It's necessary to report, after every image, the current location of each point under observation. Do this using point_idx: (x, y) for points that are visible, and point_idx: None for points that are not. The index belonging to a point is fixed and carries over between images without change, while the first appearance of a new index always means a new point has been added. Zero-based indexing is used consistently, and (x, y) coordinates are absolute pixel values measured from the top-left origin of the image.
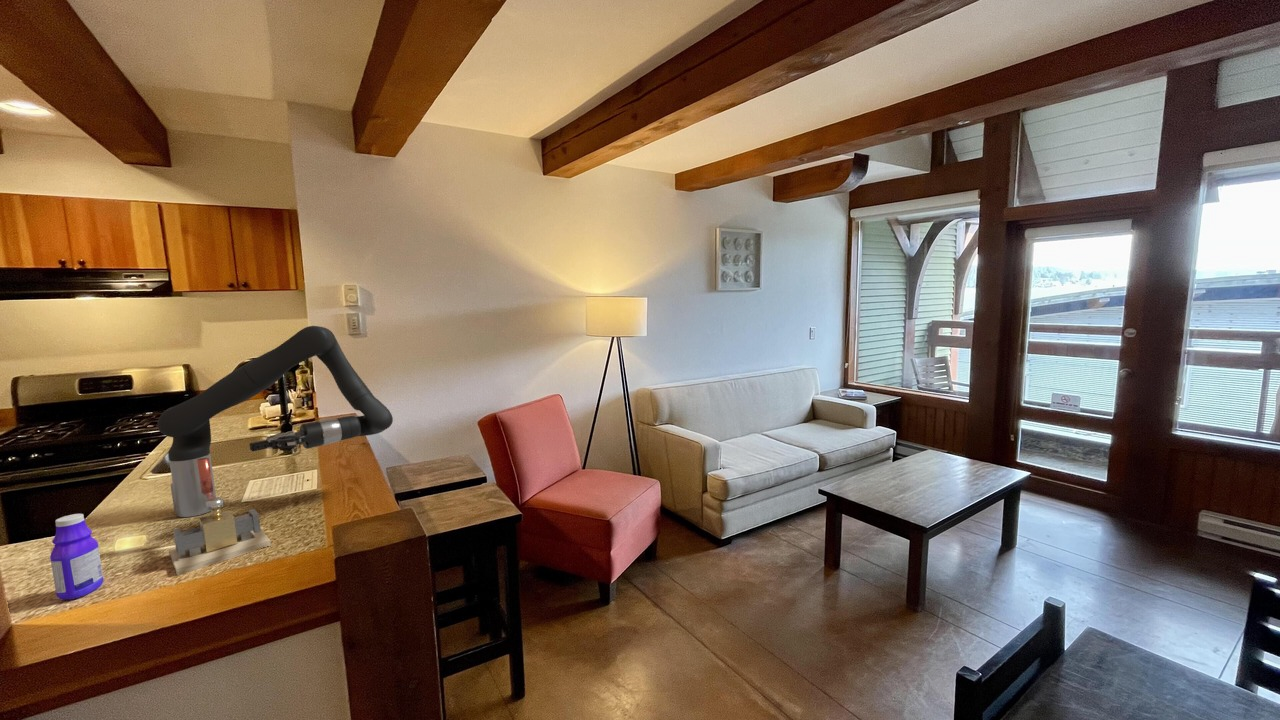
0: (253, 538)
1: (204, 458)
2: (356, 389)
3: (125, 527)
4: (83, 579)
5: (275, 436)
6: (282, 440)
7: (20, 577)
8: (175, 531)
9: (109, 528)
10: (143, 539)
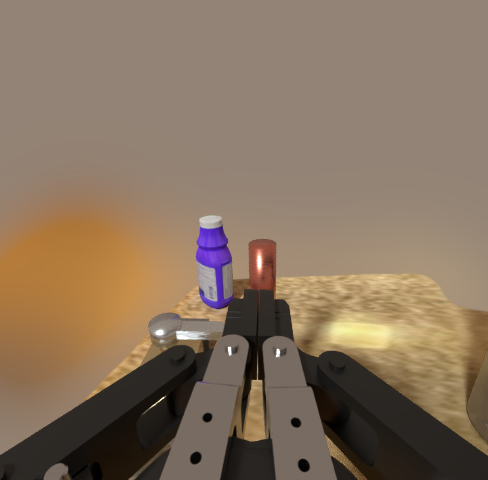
0: None
1: (268, 245)
2: None
3: (449, 334)
4: (199, 285)
5: (288, 386)
6: (93, 396)
7: (315, 278)
8: (198, 320)
9: (455, 322)
10: (361, 344)
